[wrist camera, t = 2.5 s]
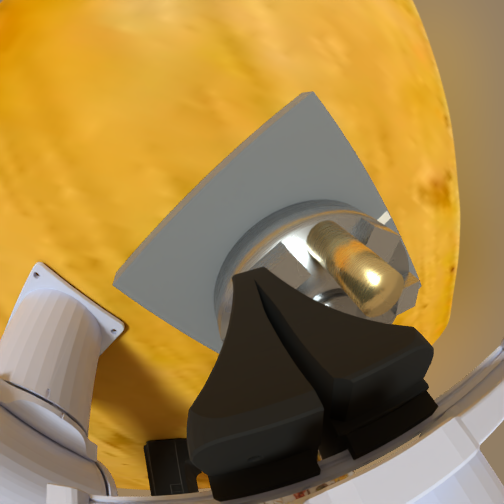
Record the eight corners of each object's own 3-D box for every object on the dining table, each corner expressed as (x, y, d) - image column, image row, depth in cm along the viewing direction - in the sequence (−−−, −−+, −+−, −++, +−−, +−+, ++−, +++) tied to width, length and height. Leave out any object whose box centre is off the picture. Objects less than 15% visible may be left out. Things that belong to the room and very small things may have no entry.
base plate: (290, 381, 26) (296, 393, 25) (116, 272, 17) (112, 285, 15) (412, 278, 24) (422, 286, 23) (302, 93, 14) (313, 91, 13)
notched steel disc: (377, 323, 23) (428, 384, 16) (238, 375, 21) (265, 460, 14) (386, 181, 17) (482, 228, 10) (186, 233, 15) (199, 337, 8)
